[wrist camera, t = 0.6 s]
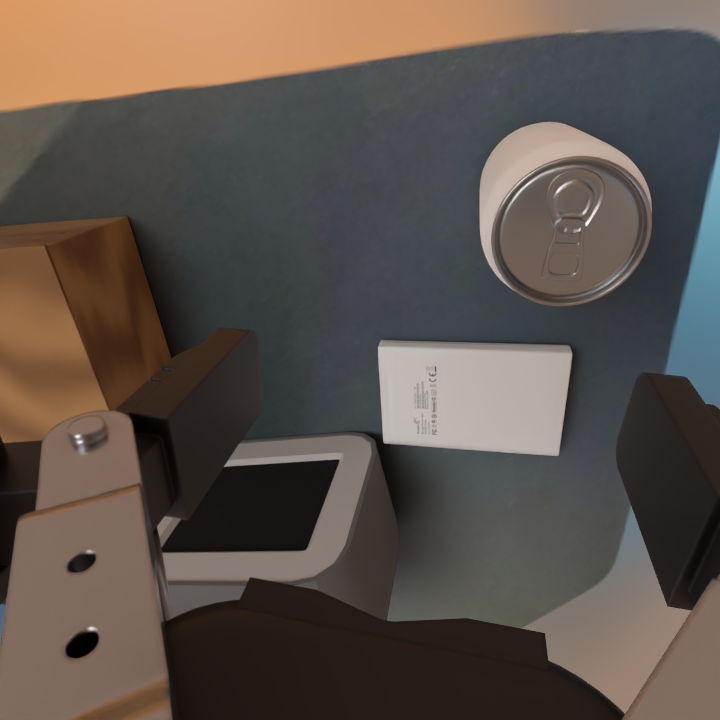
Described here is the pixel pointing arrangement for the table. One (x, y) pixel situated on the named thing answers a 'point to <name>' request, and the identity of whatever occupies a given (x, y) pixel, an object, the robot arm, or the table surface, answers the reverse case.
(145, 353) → the wooden block
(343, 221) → the table surface
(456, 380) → the hard drive
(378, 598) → the alarm clock
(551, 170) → the can
